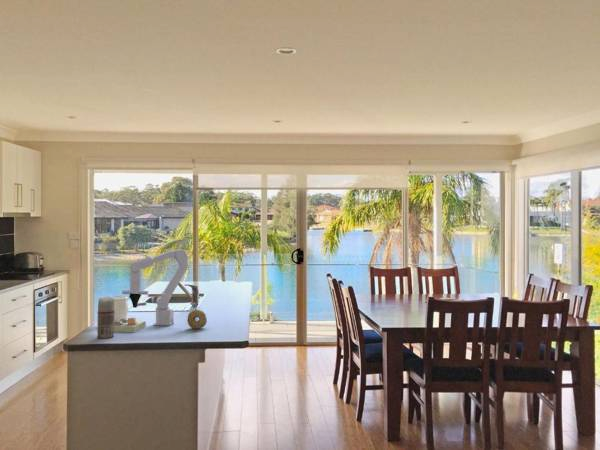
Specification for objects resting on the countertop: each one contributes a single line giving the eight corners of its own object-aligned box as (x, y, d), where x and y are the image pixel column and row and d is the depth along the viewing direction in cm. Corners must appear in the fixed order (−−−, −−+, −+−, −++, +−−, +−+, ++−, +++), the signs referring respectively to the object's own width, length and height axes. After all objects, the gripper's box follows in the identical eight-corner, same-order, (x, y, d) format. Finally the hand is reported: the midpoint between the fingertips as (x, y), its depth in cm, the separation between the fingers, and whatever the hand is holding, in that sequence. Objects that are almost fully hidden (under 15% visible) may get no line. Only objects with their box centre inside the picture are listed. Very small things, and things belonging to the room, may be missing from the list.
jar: (107, 325, 304) (107, 299, 303) (109, 322, 314) (108, 296, 313) (127, 324, 306) (127, 298, 306) (128, 321, 316) (128, 295, 316)
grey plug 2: (128, 326, 300) (128, 318, 300) (125, 327, 297) (125, 319, 296) (122, 326, 301) (121, 318, 301) (118, 327, 297) (118, 319, 297)
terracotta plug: (136, 326, 294) (136, 317, 294) (133, 327, 290) (133, 319, 290) (129, 326, 294) (129, 317, 294) (126, 327, 290) (126, 319, 290)
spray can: (116, 335, 280) (116, 296, 279) (111, 338, 271) (111, 298, 271) (100, 335, 279) (99, 296, 279) (94, 338, 271) (94, 298, 271)
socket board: (145, 326, 301) (145, 321, 301) (134, 332, 286) (134, 326, 286) (119, 326, 303) (119, 320, 303) (107, 331, 288) (107, 326, 288)
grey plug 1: (123, 329, 293) (123, 320, 293) (119, 330, 289) (119, 322, 289) (116, 329, 293) (115, 320, 293) (112, 330, 289) (112, 322, 289)
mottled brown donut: (186, 329, 293) (186, 310, 293) (188, 327, 297) (188, 309, 297) (205, 329, 293) (205, 310, 293) (207, 328, 296) (207, 309, 296)
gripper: (119, 283, 299) (119, 308, 299) (145, 284, 298) (144, 308, 298) (125, 282, 306) (124, 306, 306) (149, 282, 305) (149, 306, 305)
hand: (135, 307), depth 302 cm, fingers closed
